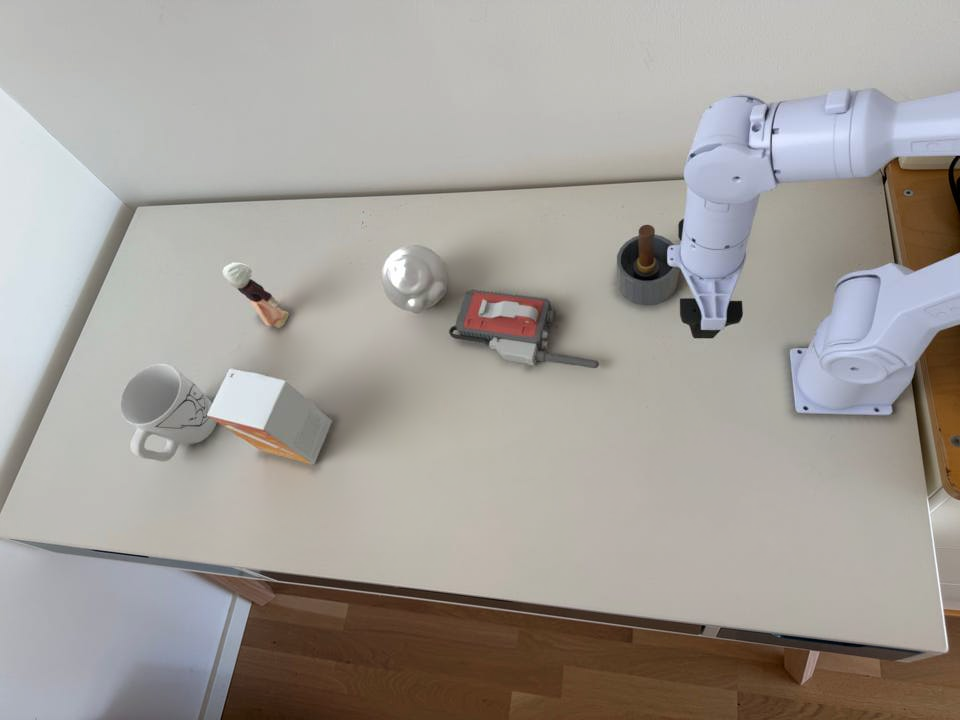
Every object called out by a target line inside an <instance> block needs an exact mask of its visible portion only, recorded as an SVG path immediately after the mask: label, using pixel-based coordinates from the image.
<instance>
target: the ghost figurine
mask: <svg viewBox="0 0 960 720" xmlns="http://www.w3.org/2000/svg"><path fill="white" fill-rule="evenodd" d="M380 280H381V285H382V289H383V292H384V294H385V296H386V297H387V299H388V300H389V301H390V302H391V303H392V304H393V305H394V306H395V307H397V308H400V309H401V310H404V311H407V312H411V313H412V314H416V315H417V314H421V313H423V312H424V311H425V310H429V309H430V308H432V307H434V306H435V305H436V304H437V303H439V302H440V300H442V299H443V298H444V296H445V295H446V293H447V288H448V282H449V281H448V280H449V275H448V270H447V267H446V265H445V262H444V261H443V259H442V258H441V256H440V255H439V254H438V253H437V252H435V250H432V249H431V248H429V247H427V246H423V245H419V244H410V245H409V244H408V245H405V246H402V247H399V248H397V249H396V250H395V251H393V252H392V253H391V254H390V255H389V256H388V258H386V260H385V262H384V264H383V266H382V270H381V279H380Z"/></svg>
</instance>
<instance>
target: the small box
mask: <svg viewBox="0 0 960 720" xmlns="http://www.w3.org/2000/svg"><path fill="white" fill-rule="evenodd" d="M211 403H212V405H211V407H210V410H209V412H208V414H207V416H208V417H209V418H211V419H213V420H214V421H216V422H217V423H218V424H219V425H221V426H222V427H223V428H225V429H227V430H228V431H230V432H231V433H233V434H234V435H236V436H237V437H239V438H241V439H242V440H244V441H245V442H247V443H248V444H250V445H251V446H253V447H254V448H256V449H257V450H259V451H261V453H264V454H265V453H266V454H271V455H275V456H278V457H282V458H283V457H284V458H287V459H291V460H295V461H298V462H302V463H304V464H305V463H306V464H309V465H312V466H314V465H315V464H316V462H317V460H318V457H319V455H320V452H321V450H322V447H323V445H324V443H325V440H326V438H327V435H328V433H329V431H330V428H331V425H332V423H333V420H332V419H331V418H329V417H328V416H327V415H326V414H325V413H323V412H322V411H321V410H320V409H319V408H318V407H316V405H314V404H313V403H312V402H311V401H310V400H309V399H308V398H306V397H305V396H304V395H303V394H302V393H301V392H299V391H298V390H297V389H296V388H295V387H294V386H293V385H292V384H291V383H290V382H288V381H287V380H285V379H281V378H277V377H274V376H269V375H265V374H261V373H258V372H252V371H246V370H242V369H237V368H233V367H231V368H229V369H228V371H227V373H226V375H225V377H224V379H223V381H222V382H221V385H220V387H219V389H218V391H217V393H216V395H215V397H214V399H213V402H211Z"/></svg>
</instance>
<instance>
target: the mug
mask: <svg viewBox="0 0 960 720" xmlns="http://www.w3.org/2000/svg"><path fill="white" fill-rule="evenodd" d="M212 403H213V402H212V401H211V400H210V399H209V397H207V396H206V394H205V393H204V392H203V391H202V390H201V388H199V387H198V385H196V384H195V383H194V381H192V380H190V378H188V377H187V376H186V375H184V374H183V372H181V371H180V370H179V369H178V368H176V367H174V366H173V365H171V364H167V363H154V364H151V365H147V366H146V367H144V368H142V369H140V370H139V371H138V372H136V373H135V374H134V375H133V376H132V377H131V378H130V379H129V381H128V382H127V384H126V385H125V387H124V388H123V390H122V393H121V396H120V400H119V409H120V413H121V415H122V417H123V419H124V420H125V421H126V422H127V423H128V424H130V425H132V426H133V427H135V428H136V431H135V432H134V434H133V435H132V437H131V441H130V451H131V453H132V454H133V455H135V456H137V457H139V458H142V459H145V460H154V461H157V462H167V461H169V460H171V459H172V458H173V457H174V456H175V454H176V452H177V451H178V448H179V445H180V444H187V445H192V444H198V443H200V442H203V441H204V440H205V439H207V438H208V437H209V436H210V435H211V434H212V433H213V432H214V430H215V428H216V427H217V422H216V421H214V420H213V419H211V418H209V417H208V416H207V414H208V412H209V410H210V407H211V405H212ZM152 435H154V436H157V437H160V438H164V439H165V440H166V445H165V447H164V449H163V451H161V452H160V451H156V450H150V449H147V448H145V444H146V441H147V439H148V438H149V437H150V436H152Z"/></svg>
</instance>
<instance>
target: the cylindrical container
mask: <svg viewBox="0 0 960 720" xmlns="http://www.w3.org/2000/svg"><path fill="white" fill-rule="evenodd" d="M672 245H675V244H674V243H673V242H672V241H671V240H670V239H668V238H666V237H665V236H663V235H660V234H659V235H658V234H655V241H654V257H655V258H656V259H657V260H658V261H659V264H660V270H659V279H656V280H652V281H642V280H638V279H635V278H633V264H634V262H635V260H636V259H637V258H639V235H636V236H634V237H632V238H630V239H629V240H626V241H625V242H624V243H623V244H622V246H621V247H620V248H619V250H618V252H617V255H616V273H617V275H616V276H617V285H618V289H619V291H620V294H622V296H623V297H624V298H625V299H626V300H628V301H629V302H631V303H633V304H635V305H639V306H654V305H655V306H656V305H658V304H661V303H663V302H665V301H667V300H668V299H669V298H670V297H671V296H672V295H673V294H674V293H675V291H676V289H677V286H678V282H679V280H678V279H679V271H680V268H679V267H673V266H669V265H668V263H667V251H668V247H669V246H672Z"/></svg>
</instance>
